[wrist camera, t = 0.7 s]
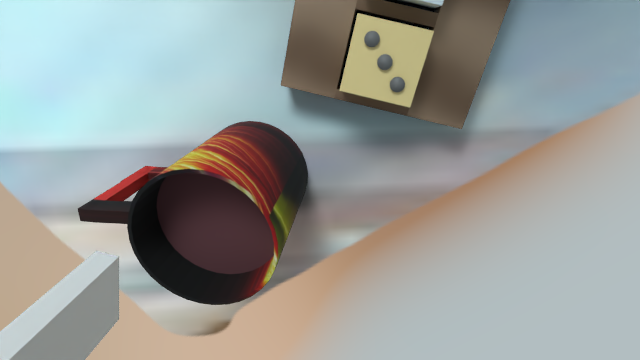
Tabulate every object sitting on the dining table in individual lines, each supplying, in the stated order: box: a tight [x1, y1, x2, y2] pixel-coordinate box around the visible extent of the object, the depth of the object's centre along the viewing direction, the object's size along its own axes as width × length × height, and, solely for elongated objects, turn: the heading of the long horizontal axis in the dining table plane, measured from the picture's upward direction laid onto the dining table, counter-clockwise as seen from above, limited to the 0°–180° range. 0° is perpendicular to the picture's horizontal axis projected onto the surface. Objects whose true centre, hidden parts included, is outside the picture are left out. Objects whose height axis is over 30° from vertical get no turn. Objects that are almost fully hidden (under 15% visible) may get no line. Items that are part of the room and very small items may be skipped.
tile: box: [339, 13, 434, 107], centre depth 26 cm, size 5×5×4 cm
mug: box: [78, 121, 308, 305], centre depth 29 cm, size 10×14×12 cm
